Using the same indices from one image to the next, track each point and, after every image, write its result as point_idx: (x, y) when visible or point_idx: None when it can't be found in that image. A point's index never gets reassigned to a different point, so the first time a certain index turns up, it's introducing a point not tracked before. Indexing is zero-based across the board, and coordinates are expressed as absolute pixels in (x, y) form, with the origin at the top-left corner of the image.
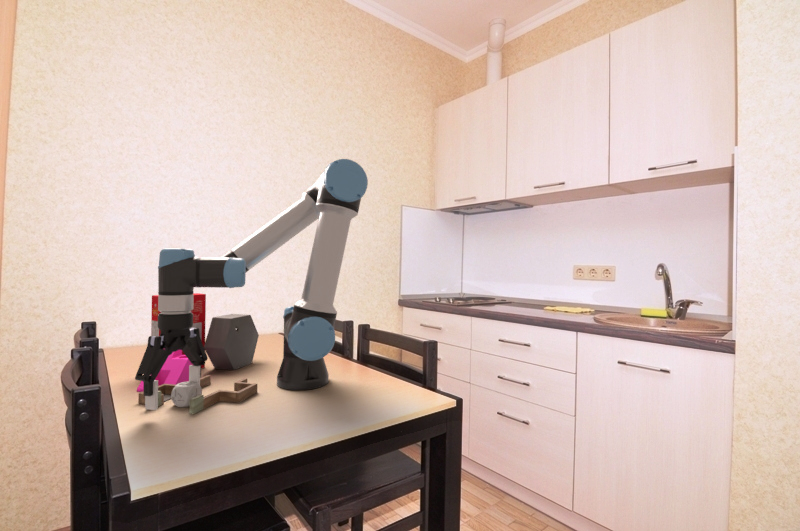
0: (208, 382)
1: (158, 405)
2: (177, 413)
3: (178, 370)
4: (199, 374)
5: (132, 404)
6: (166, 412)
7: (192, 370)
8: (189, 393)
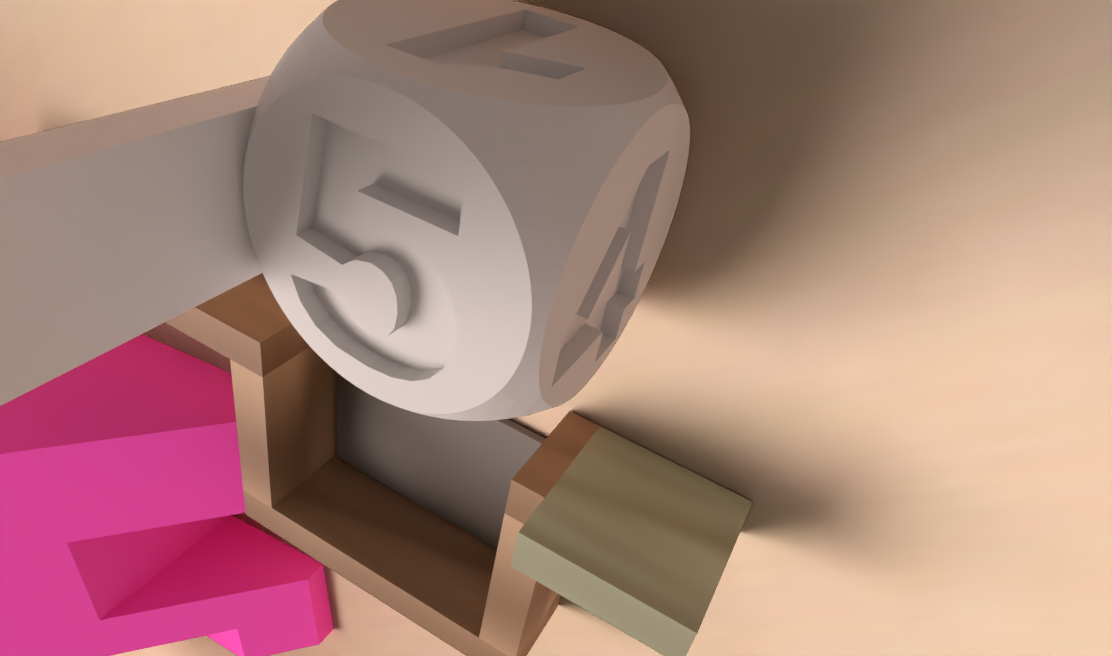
0: None
1: (631, 448)
2: (958, 132)
3: (43, 482)
4: (81, 131)
5: (589, 640)
6: (875, 306)
7: (53, 305)
8: (605, 102)
